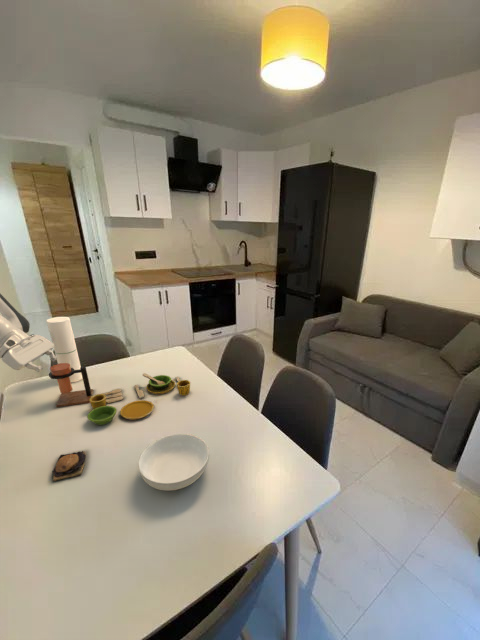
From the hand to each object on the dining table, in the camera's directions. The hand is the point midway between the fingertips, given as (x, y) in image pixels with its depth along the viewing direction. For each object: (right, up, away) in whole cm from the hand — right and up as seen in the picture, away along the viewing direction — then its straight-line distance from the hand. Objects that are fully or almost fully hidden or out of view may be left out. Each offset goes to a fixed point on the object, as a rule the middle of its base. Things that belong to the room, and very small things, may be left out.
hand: (48, 365), depth 117 cm
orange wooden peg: (+4, -11, +5) cm, 13 cm away
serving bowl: (+60, -33, -26) cm, 73 cm away
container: (-5, -8, +23) cm, 25 cm away
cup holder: (+6, -15, +8) cm, 18 cm away
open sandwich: (+26, -31, -26) cm, 48 cm away
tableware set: (+35, -16, +9) cm, 39 cm away
